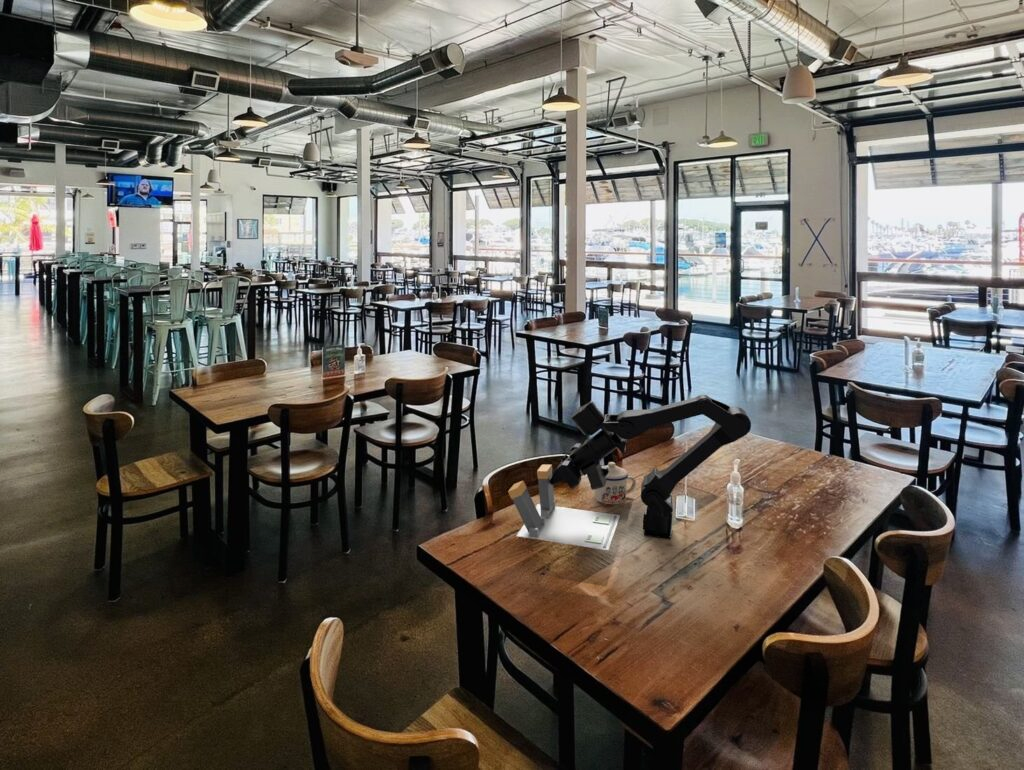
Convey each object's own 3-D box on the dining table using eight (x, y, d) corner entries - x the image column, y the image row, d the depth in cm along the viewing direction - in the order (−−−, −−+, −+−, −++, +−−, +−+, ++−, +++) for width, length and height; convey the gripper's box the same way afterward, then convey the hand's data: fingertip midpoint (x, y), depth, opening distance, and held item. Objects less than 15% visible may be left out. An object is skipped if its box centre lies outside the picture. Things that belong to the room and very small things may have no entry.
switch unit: (619, 520, 166) (620, 508, 165) (607, 556, 148) (608, 542, 147) (537, 509, 172) (537, 496, 172) (516, 541, 154) (516, 528, 153)
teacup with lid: (600, 511, 172) (602, 469, 169) (588, 497, 181) (590, 458, 178) (641, 507, 175) (644, 466, 172) (627, 494, 184) (629, 455, 181)
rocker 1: (542, 520, 158) (523, 480, 158) (537, 529, 154) (517, 488, 153) (533, 524, 159) (514, 483, 159) (528, 532, 154) (507, 491, 154)
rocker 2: (555, 505, 169) (551, 464, 166) (550, 513, 164) (547, 471, 162) (545, 504, 169) (542, 464, 167) (540, 512, 165) (537, 471, 162)
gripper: (612, 486, 150) (562, 522, 155) (622, 461, 167) (577, 493, 173) (581, 450, 150) (533, 486, 156) (595, 428, 168) (551, 462, 173)
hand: (550, 483), depth 164 cm, fingers closed, pressing on rocker 2
